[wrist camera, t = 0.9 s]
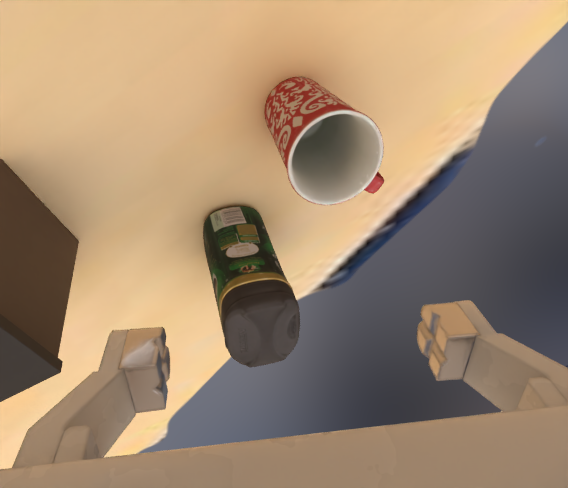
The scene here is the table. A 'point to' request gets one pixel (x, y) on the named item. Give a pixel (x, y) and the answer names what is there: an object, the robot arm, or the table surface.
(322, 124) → the mug
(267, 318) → the coffee jar
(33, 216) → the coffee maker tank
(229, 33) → the table surface
